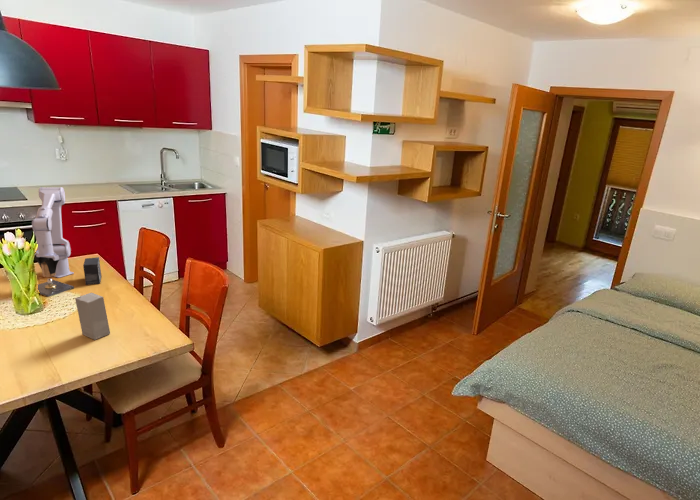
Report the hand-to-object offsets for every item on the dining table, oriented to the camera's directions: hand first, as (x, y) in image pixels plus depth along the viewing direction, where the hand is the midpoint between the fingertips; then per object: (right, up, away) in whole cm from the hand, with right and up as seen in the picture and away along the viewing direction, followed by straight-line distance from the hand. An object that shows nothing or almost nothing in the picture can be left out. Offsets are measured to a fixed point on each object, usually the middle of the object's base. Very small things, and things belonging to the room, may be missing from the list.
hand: (49, 272), depth 203 cm
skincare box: (+41, -22, -35) cm, 58 cm away
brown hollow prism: (0, -1, 0) cm, 1 cm away
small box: (+12, -5, +15) cm, 20 cm away
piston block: (-1, -8, +2) cm, 8 cm away
